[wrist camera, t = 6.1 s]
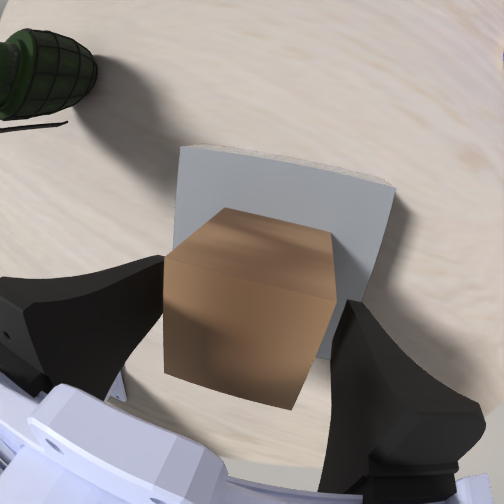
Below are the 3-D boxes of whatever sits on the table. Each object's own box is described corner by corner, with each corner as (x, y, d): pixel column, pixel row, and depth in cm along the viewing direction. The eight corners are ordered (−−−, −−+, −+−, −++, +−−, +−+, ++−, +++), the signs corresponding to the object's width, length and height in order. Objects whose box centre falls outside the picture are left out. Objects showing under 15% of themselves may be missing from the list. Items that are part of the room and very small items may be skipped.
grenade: (111, 29, 14) (-39, -2, 3) (115, 113, 16) (-57, 130, 5) (56, 59, 15) (-75, 58, 4) (60, 133, 17) (-80, 166, 7)
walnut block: (212, 297, 16) (164, 373, 10) (224, 207, 14) (164, 257, 8) (304, 320, 15) (291, 410, 10) (330, 232, 13) (336, 301, 8)
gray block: (193, 292, 20) (171, 320, 17) (206, 143, 16) (180, 146, 13) (336, 326, 19) (337, 361, 16) (380, 177, 15) (396, 188, 12)
